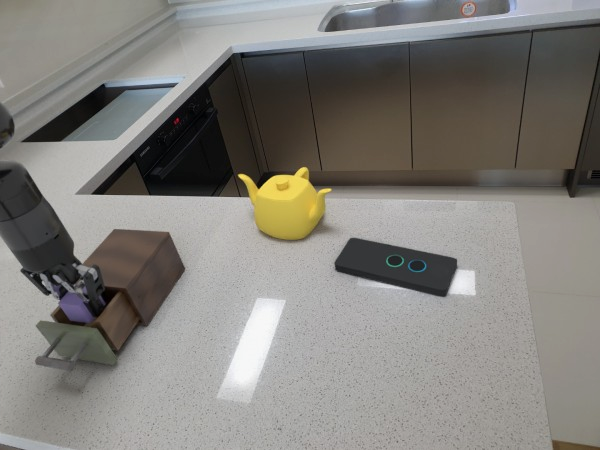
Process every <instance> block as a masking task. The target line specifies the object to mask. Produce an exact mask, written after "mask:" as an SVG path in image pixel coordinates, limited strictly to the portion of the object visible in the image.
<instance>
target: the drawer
mask: <svg viewBox="0 0 600 450" xmlns="http://www.w3.org/2000/svg"><path fill="white" fill-rule="evenodd" d="M101 297H102V299H103V300H104V302H105V303H106V304H105V306H104V310H103V312H102V313H101V314H100V316H99V317H95V318H94V320H93V321H92V322H91V323H84V322H77V321H70V319H69V318H68V317H67V315H66V314H65V313H64V311H63V310H62V308H61V307H60V306H59V305H57V307H56V308H55V309H54V310H53V311H52V312H51V314H49V315H50V317H51V319H52V320H53V321H48V320H42V319H41V320H39V321H38V322H37V323H36V324H35V328H36V329H37V330H38V331H39V333H40V334H41V335H42V337H43V338H44V339H45V340H46V342H47V343H48V344H49V345H50V346H49V347H48V348H47V349H46V350H45V351H44V353H43V354H42V355H38V356H37V357H36V358H35V360H34V363H35V365H36V366H40V367H46V368H51V369H56V370H62V371H67V372H72V371H73V370H75V368H76V362H77V361H78V360H82V361H87V362H93V363H98V364H104V365H105V364H106V365H111V366H114V365H115V364H116V363H117V361H118V357H117V356H116V354H115V353H114V351H119V350H120V349H121V348H122V346H123V344H124V343H125V342H126V340H127V339H128V337H129V336H130V334H131V333H132V331H133V330H134V329H135V327H136V326H137V325H136V324H137V323H138V321H139V320H140V318H139V317H138V315H137V313H136V311H135V310H134V308H133V306H132V304H131V303H130V301H129V299H128V298H127V296H126V294H125V292H124V291H118V290H109V289H105V290H104V292H102V294H101ZM53 351H54V352H56V354H57V355H58V356H59V357H64V358H70V359H69V360H67V359H61V358H56V357H50V355H51V354H52V352H53Z"/></svg>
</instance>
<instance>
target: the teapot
mask: <svg viewBox="0 0 600 450" xmlns="http://www.w3.org/2000/svg"><path fill="white" fill-rule="evenodd" d="M237 176H238V178H239V179H240V180H241V181H243V183H244V184H245V186H246V188H247V192H248V196H249V200H250V202H251V204H252V206H253V216H254V222H255V225H256V227H257V228H258V229H259V230H260V231H261V232H262V233H264V234H266V235H267V236H270V237H273V238H276V239H280V240H288V241H296V240H297V241H298V240H302V239H305V238H306V237H307V236H308V235H309V234H311V232H312V231H313V230H314V229H315V228H316V227H317V225H318V224H319V222H320V220H321V218H323V216H324V214H325V212H326V195H327V194H329V193H330V192H332V188H323V189H320V190H319V191H317V190H316V189H315V187H314V186H313V184H312V183H311V182H310V171H309V168H307V167H306V166H303V167H301V168H299V169H298V170H297V171H296V173H294V175H291V174H276V175H273V176H271V177H270V178H269V179H268V180H266V182H264V183H263V184H262V186H261V187H259V188H258V187H257V185H256V183H255V182H254V181H253V179H252V178H251V177H250V176H248V175H246V174H243V173H239V174H237Z"/></svg>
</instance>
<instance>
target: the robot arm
mask: <svg viewBox="0 0 600 450" xmlns="http://www.w3.org/2000/svg"><path fill="white" fill-rule="evenodd" d="M15 130H16V125H15V120H14V117H13V115H12V113H11V112H10V110H9V109H8V107H6V105H5V104H4V103H3V102H2V101H0V150H2V149H3V148H5V147H6V146H8V145H9V144H10V142H11V141H12V140H13V138H14V137H15V136H14V135H15V132H16V131H15ZM0 239H2V241H3V242H4V244H5V245H6V247H8V249H9V250H10V252H11V253H12V254H13V256H14V258H15V259H16V260H17V261H18V263H19V265H20V266H21V267H22V268H21V269H19V270H20V273H21V274H22V275H23V276H24V277H25V278H27V280H28V281H30V282H31V283H32V284H33V286H35V287H36V288H37V289H38V290H39V291H40V292H41V293H42V294H43V295H44V296H46V297H48V296H50V295H52V297H53V298H54V299H55V300H57V301H60V300H61V299H62V298H63V297H64V296H65V295H66V293H67V292H68V291H69V292H70V293H71V294H76V295H77V296H78V297H79V298H80V299H81V300H82V301H83V303H84V304H85V306H86V307H87V309H88V310H89V312H90V313H91V315H92V316H93V317H99V316H100V314H101V313H102V312H103V310H104V305H103V303H102V302H101V300H100V299H99V296H100V295H101V294H102V292H104V290H105V286H104V282H103V279H102V275H101V271H100V268H99V266H97V265H95V264H93V265H92V266H91V267H90V268H89V267H86V266H83V265H82V264H83V263H82V262H81V261H80V260H79V258H77V257H76V256H75V254H74V253H75V251H74V250H75V249H74V248H75V242H74V240H73V238H72V236H71V235H70V233H69V232H68V230H67V228H66V227H65V225H64V224H63V222H62V221H61V218H60V217H59V215H58V214H57V212H56V211H55V209H54V207H53V206H52V205H51V203H50V202H49V201H48V200H47V198H45V196H44V194H43V193H42V191H41V190H40V188H39V186H38V185H37V183H36V181H34V178H33V177H32V175H31V173H30V172H29V171H28V169H27V168H26V167H25V166H24V165H23V164H22V163H21V162H19V161H16V160H13V159H11V160H10V159H0ZM79 279H80V281H79V282H78V283H77V284H76V286H75V287H74V286H73V285H74V284H75V283H76V282H77V281H78V280H79ZM43 282H44V284H43ZM84 287H86V290H87V292H86V294H85V293H84V292H83V291H82V289H83V288H84Z"/></svg>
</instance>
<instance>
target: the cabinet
mask: <svg viewBox="0 0 600 450" xmlns="http://www.w3.org/2000/svg"><path fill="white" fill-rule="evenodd" d="M93 264H95V265H97V266H99V268H100V271H101V275H102V279H103V282H104V286H105V289H109V290H118V291H124V292H125V294H126V296H127V298H128V299H129V301H130V303H131V304H132V306H133V308H134V310H135V311H136V313H137V315H138V317H139V318H140V320H139V321H138V323H137V324H136V326H141V327H148V326H149V325H150V323H151V322H152V321H153V319H154V317H155V316H156V314H157V313H158V311H159V310H160V308H161V307H162V305H163V304H164V302H165V301H166V299H167V297H168V296H169V295H170V293H171V292H172V290H173V289H174V287H175V286H176V284H177V283H178V281H179V279H180V278H181V276H182V275H183V273H184V272H185V270H186V266H185V264H184V263H183V260H182V258H181V256H180V253H179V251H178V249H177V246H176V244H175V242H174V239H173V238H172V235H171V233H170V231H162V230H161V231H160V230H143V229H125V228H123V229H122V228H114V229H113V230H111V232H110V233H109V234H108V235H107V236H106V237H105V238H104V239H103V241H102V242H101V243H100V244H99V245H98V246H97V247H96V248H95V249H94V250H93V251H92V253H91V254H90V255H89V256H88V257H87V258H86V259H85V260H84V261H83V263H82V265H83V266H86V267H89V268H90V267H91V266H92V265H93ZM79 281H80V279H79V280H78V281H77V282H76V283H75V284H77V283H78V282H79ZM73 286H74V285H73Z"/></svg>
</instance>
